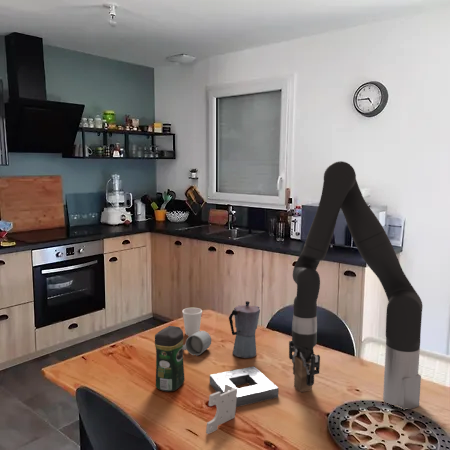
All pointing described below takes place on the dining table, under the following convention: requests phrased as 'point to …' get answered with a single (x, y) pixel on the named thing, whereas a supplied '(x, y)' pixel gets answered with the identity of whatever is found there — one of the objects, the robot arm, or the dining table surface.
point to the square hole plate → (251, 394)
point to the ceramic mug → (197, 343)
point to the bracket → (222, 407)
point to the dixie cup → (192, 320)
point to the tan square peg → (301, 375)
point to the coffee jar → (169, 358)
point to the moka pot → (245, 330)
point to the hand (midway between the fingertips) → (303, 379)
